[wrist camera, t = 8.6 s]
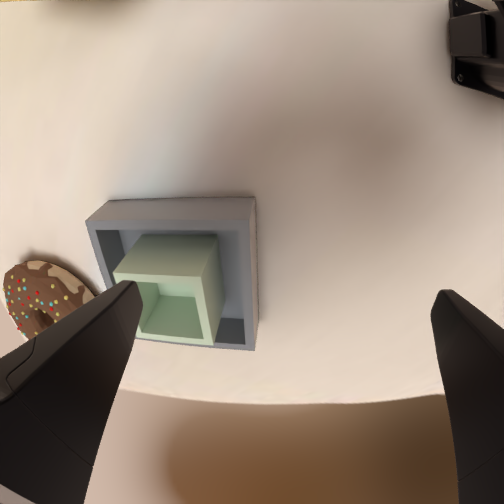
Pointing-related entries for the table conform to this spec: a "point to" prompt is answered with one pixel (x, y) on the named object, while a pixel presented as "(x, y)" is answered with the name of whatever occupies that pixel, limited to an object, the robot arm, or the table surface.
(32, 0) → the flower pot
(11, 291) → the donut
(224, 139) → the table surface
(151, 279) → the small crate
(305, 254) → the table surface
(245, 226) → the big crate
